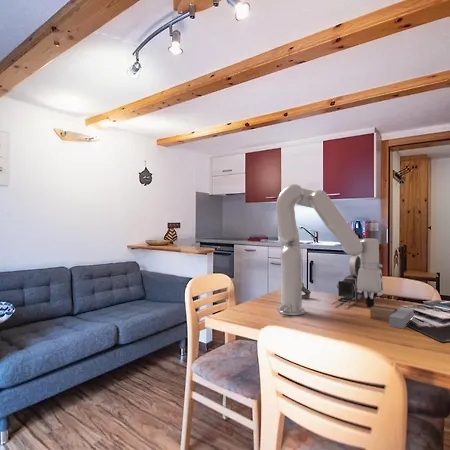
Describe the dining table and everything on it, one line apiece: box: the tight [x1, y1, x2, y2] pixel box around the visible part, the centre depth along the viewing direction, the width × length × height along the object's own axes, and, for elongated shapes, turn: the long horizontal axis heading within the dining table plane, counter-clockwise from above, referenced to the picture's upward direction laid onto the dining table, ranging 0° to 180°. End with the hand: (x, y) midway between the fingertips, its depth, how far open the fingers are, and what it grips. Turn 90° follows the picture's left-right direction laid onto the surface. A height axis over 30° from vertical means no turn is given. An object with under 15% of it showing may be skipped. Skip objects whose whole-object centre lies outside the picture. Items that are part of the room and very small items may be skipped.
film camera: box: [331, 254, 365, 307], centre depth 172 cm, size 40×12×24 cm, turn 141°
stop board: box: [388, 306, 415, 330], centre depth 134 cm, size 18×5×4 cm, turn 138°
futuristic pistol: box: [302, 282, 311, 299], centre depth 177 cm, size 2×15×10 cm, turn 82°
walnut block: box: [369, 303, 398, 323], centre depth 139 cm, size 7×9×5 cm
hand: (369, 306), depth 143 cm, fingers closed
